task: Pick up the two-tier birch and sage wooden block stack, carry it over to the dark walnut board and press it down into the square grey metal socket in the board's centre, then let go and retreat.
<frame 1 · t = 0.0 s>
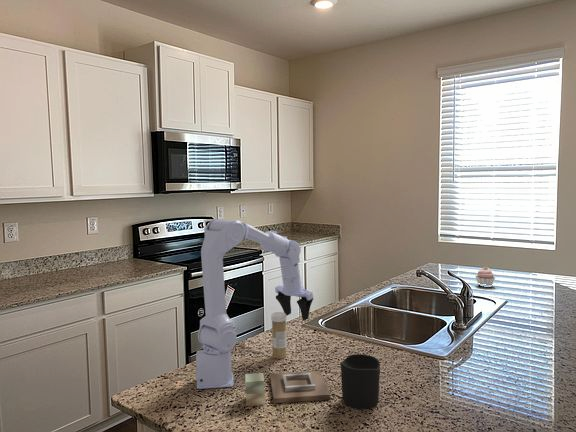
hand: (296, 316, 144), 11 cm above the worktop, tool pointing down, fingers open, 7 cm apart
pen holder: (360, 402, 110), on the worktop
sprinkles bottle: (279, 357, 139), on the worktop
walnut board: (298, 388, 117), on the worktop
cupcake: (485, 286, 223), on the worktop
block stack: (255, 400, 111), on the worktop
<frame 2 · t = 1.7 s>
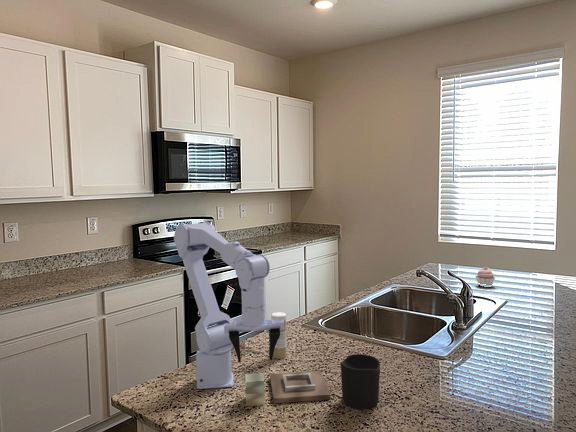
hand: (255, 359, 110), 10 cm above the worktop, tool pointing down, fingers open, 7 cm apart
nothing on the worktop moved.
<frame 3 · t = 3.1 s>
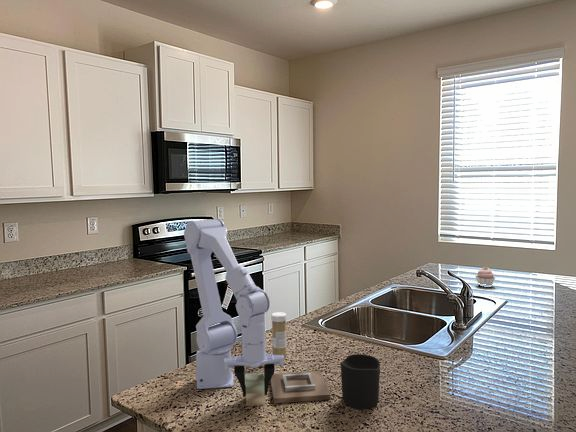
hand: (255, 394, 111), 2 cm above the worktop, tool pointing down, fingers closed on block stack, 4 cm apart
block stack: (255, 400, 111), on the worktop, touching gripper
everything else where it was.
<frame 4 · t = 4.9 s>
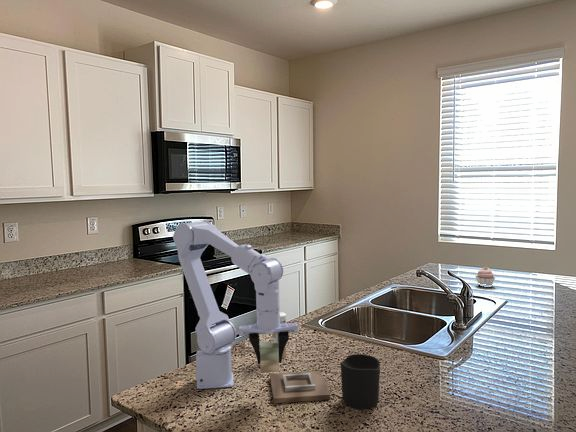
hand: (269, 361, 112), 9 cm above the worktop, tool pointing down, fingers closed on block stack, 4 cm apart
block stack: (269, 368, 112), point 7 cm above the worktop, touching gripper
everything else where it was.
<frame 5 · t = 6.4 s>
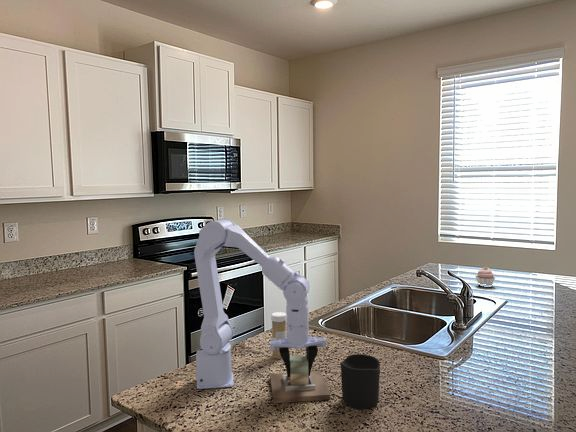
hand: (298, 374, 117), 4 cm above the worktop, tool pointing down, fingers closed on block stack, 4 cm apart
block stack: (298, 381, 117), point 2 cm above the worktop, touching gripper
everything else where it was.
when the fingers open (3 cm above the worktop, at t = 7.0 s): block stack stays where it is, resting on walnut board.
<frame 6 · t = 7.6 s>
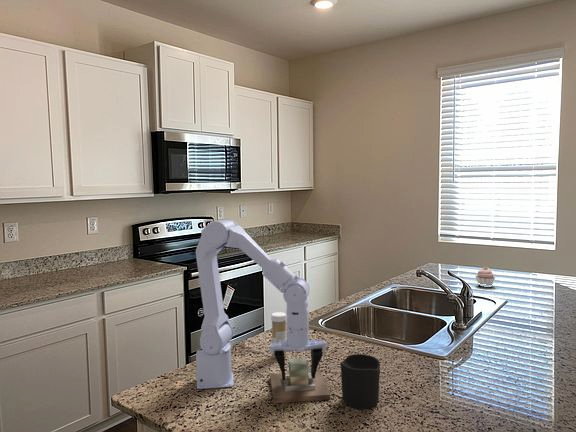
hand: (298, 377, 117), 3 cm above the worktop, tool pointing down, fingers open, 7 cm apart
block stack: (298, 383, 117), point 1 cm above the worktop, touching walnut board
everything else where it was.
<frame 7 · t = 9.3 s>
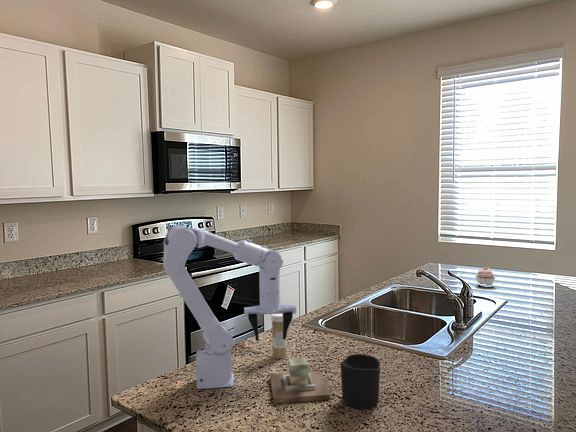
hand: (270, 339, 127), 9 cm above the worktop, tool pointing down, fingers open, 7 cm apart
nothing on the worktop moved.
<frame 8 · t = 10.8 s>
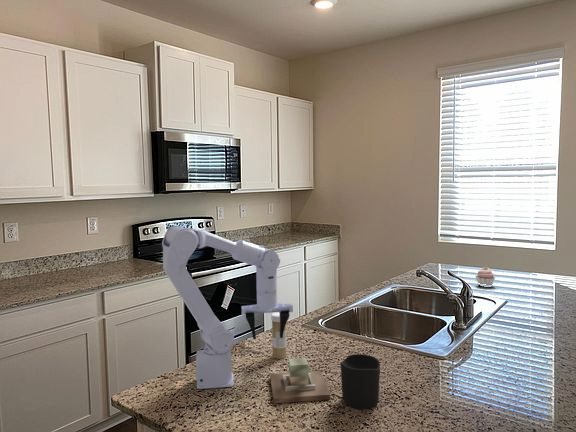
hand: (267, 337, 128), 9 cm above the worktop, tool pointing down, fingers open, 7 cm apart
nothing on the worktop moved.
at the end: block stack 0.1 cm off-centre on the walnut board, point 1.2 cm above the walnut board's base; block stack tilted 0°; the gripper is holding nothing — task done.
